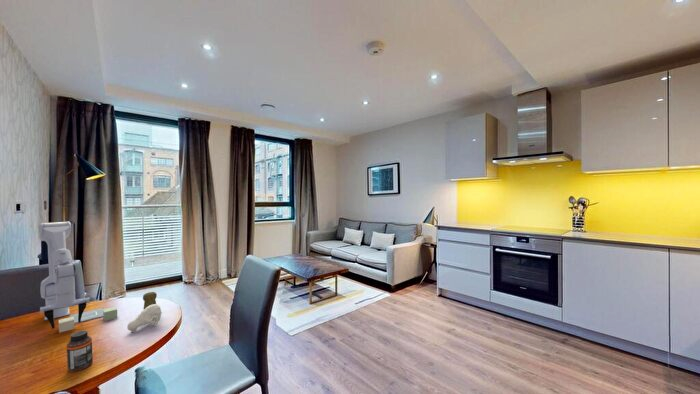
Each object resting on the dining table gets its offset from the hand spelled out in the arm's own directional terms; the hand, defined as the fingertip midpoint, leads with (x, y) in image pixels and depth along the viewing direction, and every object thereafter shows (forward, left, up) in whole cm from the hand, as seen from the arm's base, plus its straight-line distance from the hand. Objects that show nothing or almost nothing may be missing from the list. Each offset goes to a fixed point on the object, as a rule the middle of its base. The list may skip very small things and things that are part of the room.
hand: (66, 324), depth 117 cm
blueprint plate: (-10, +7, -2) cm, 12 cm away
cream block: (0, 0, -2) cm, 2 cm away
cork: (+12, +27, -2) cm, 30 cm away
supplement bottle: (+40, +3, -2) cm, 40 cm away
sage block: (0, +14, -2) cm, 14 cm away
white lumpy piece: (+23, +23, -2) cm, 33 cm away
